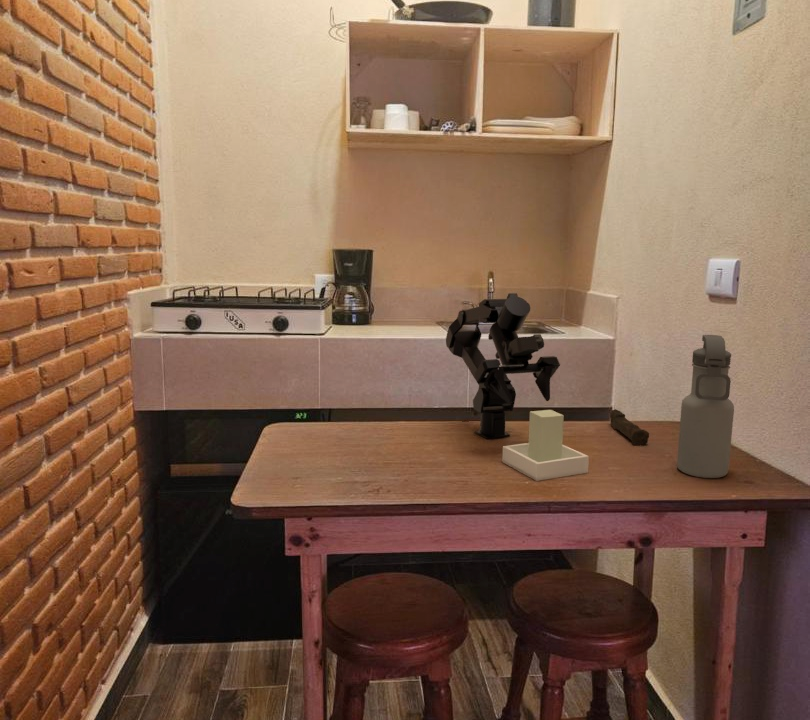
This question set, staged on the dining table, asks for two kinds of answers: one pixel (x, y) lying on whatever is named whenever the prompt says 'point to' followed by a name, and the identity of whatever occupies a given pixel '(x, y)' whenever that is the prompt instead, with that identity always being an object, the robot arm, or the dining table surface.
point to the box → (545, 462)
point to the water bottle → (707, 413)
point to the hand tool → (628, 428)
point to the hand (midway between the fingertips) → (529, 401)
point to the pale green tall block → (545, 435)
